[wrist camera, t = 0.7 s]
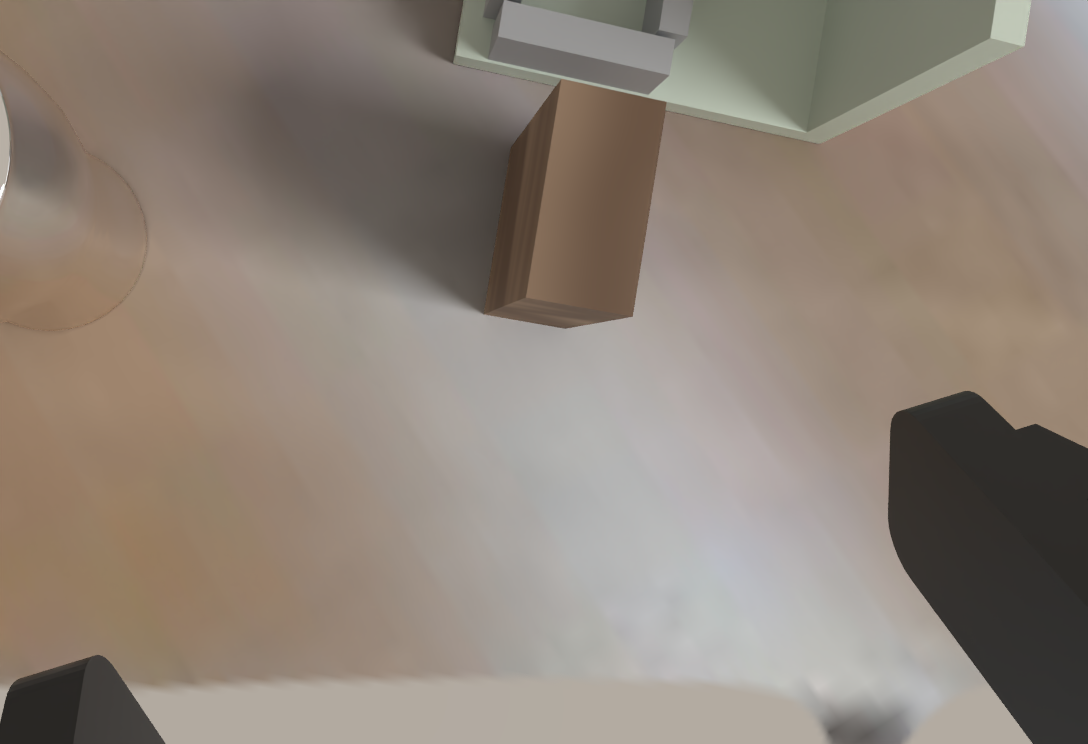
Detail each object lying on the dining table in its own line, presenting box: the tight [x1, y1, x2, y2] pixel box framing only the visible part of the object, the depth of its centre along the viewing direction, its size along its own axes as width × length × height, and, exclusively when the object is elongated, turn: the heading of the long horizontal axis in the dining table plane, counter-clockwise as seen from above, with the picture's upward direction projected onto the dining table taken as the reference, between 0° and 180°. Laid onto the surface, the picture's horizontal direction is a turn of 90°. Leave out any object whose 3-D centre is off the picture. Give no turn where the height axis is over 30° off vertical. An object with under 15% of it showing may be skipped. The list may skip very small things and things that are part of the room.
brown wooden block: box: [484, 79, 667, 329], centre depth 32 cm, size 3×6×9 cm, turn 171°
